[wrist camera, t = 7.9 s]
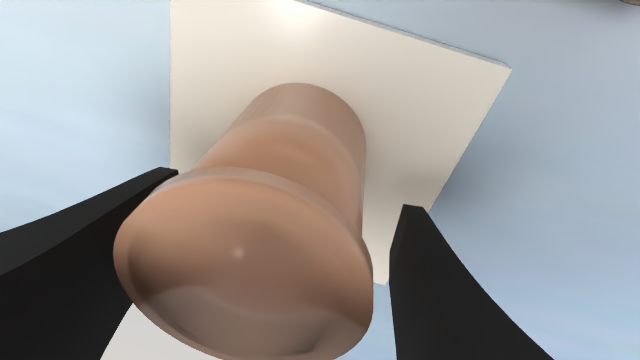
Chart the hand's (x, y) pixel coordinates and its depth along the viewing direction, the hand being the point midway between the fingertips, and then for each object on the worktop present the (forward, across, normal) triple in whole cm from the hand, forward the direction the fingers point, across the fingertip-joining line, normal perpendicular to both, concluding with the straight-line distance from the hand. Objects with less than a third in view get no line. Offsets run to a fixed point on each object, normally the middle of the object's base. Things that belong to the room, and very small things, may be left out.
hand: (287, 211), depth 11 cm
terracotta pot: (+3, 0, -1) cm, 3 cm away
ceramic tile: (+4, 0, 0) cm, 4 cm away
